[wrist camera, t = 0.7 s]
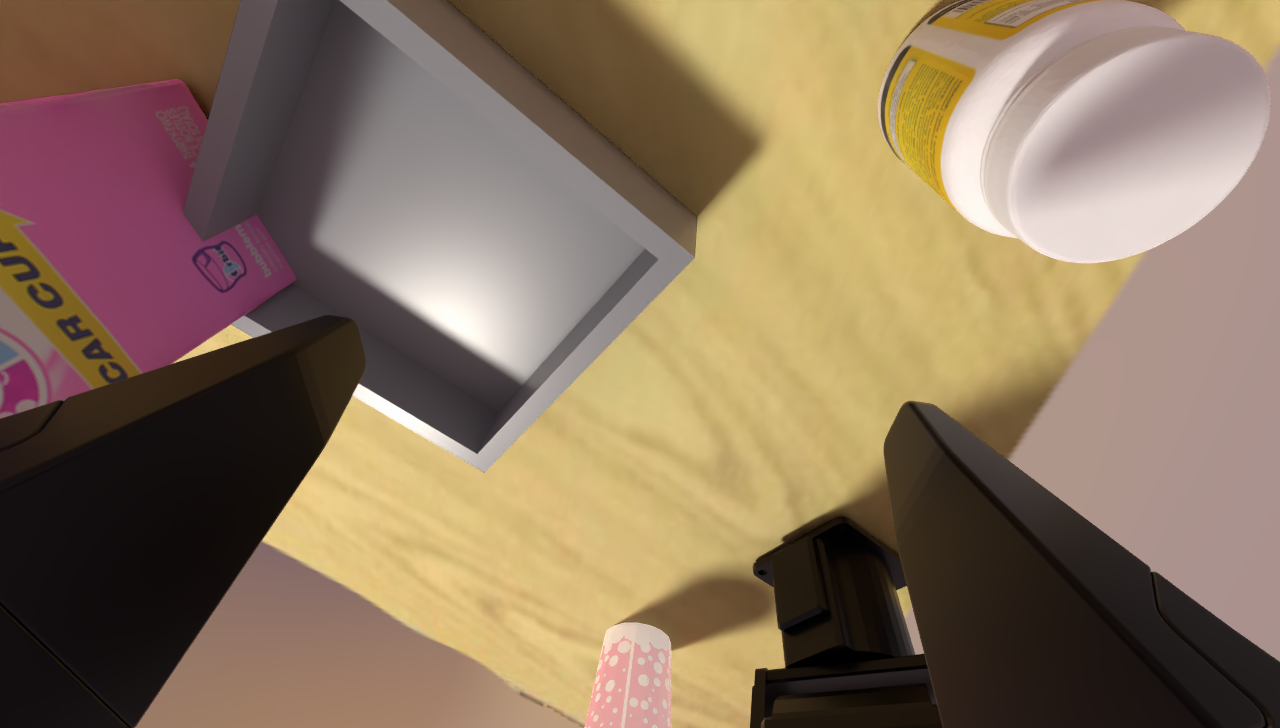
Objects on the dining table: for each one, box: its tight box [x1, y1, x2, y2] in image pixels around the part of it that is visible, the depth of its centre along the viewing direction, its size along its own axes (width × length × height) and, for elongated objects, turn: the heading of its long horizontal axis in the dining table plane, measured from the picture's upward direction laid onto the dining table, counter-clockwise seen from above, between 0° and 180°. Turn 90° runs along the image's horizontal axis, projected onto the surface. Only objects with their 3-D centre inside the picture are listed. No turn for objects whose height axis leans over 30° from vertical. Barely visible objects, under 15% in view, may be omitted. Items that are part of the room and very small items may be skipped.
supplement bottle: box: [878, 0, 1271, 263], centre depth 13 cm, size 5×5×8 cm
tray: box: [183, 0, 697, 473], centre depth 20 cm, size 14×14×4 cm
